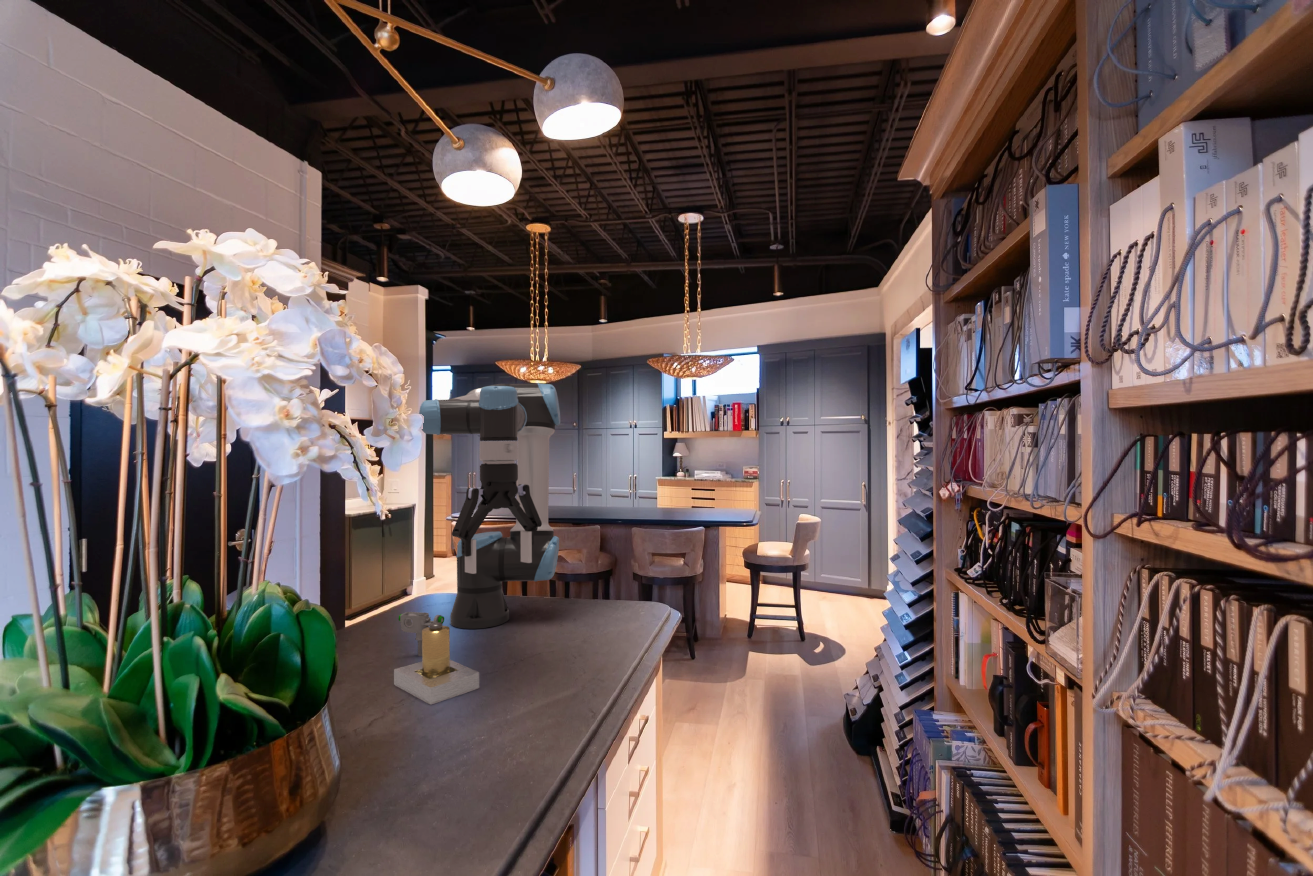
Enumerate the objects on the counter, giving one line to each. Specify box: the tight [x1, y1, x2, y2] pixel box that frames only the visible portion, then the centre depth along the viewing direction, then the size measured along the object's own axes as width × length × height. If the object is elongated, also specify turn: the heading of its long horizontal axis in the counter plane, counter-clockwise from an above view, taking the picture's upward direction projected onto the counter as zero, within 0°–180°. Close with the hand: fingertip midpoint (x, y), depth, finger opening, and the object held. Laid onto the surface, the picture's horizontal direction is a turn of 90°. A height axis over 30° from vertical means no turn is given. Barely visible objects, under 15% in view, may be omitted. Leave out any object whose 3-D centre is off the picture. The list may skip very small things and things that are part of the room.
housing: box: [393, 659, 480, 706], centre depth 122 cm, size 14×10×4 cm
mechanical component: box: [398, 611, 445, 657], centre depth 140 cm, size 3×10×10 cm, turn 79°
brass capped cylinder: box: [421, 622, 451, 679], centre depth 122 cm, size 5×5×12 cm
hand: (499, 567), depth 128 cm, fingers open, 13 cm apart
